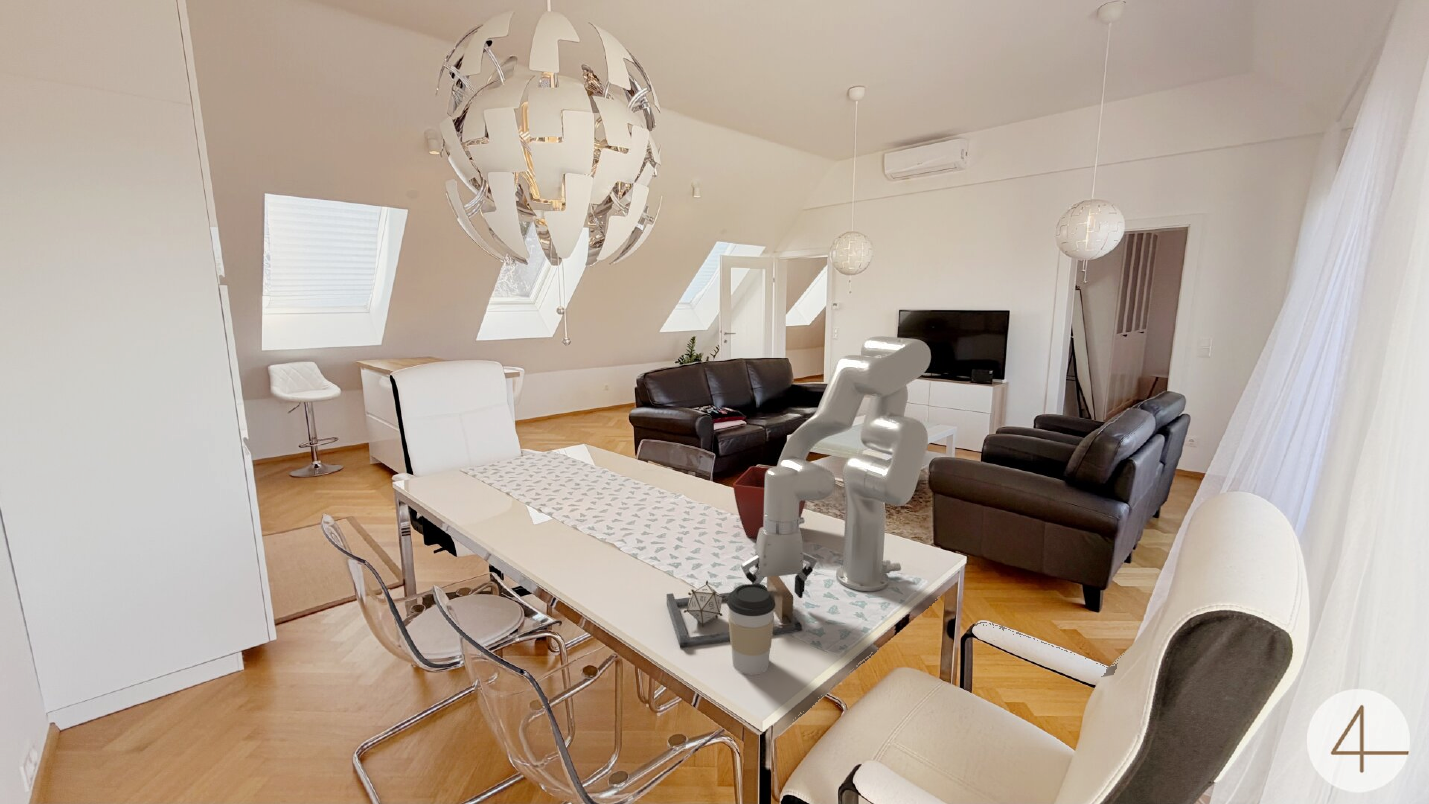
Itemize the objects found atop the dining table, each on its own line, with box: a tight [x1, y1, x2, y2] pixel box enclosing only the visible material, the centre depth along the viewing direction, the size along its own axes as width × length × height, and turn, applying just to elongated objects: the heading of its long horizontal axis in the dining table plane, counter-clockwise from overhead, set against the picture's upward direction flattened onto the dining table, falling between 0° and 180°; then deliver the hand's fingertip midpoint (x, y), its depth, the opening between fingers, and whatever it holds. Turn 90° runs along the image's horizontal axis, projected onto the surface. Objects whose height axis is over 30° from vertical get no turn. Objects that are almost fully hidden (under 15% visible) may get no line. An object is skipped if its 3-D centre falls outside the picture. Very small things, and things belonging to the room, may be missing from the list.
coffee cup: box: [726, 583, 775, 676], centre depth 109 cm, size 9×9×15 cm
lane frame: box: [666, 576, 803, 648], centre depth 126 cm, size 26×17×6 cm, turn 104°
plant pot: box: [732, 465, 806, 539], centre depth 171 cm, size 19×19×17 cm
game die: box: [683, 580, 726, 629], centre depth 124 cm, size 9×8×10 cm
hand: (778, 597), depth 128 cm, fingers open, 9 cm apart
